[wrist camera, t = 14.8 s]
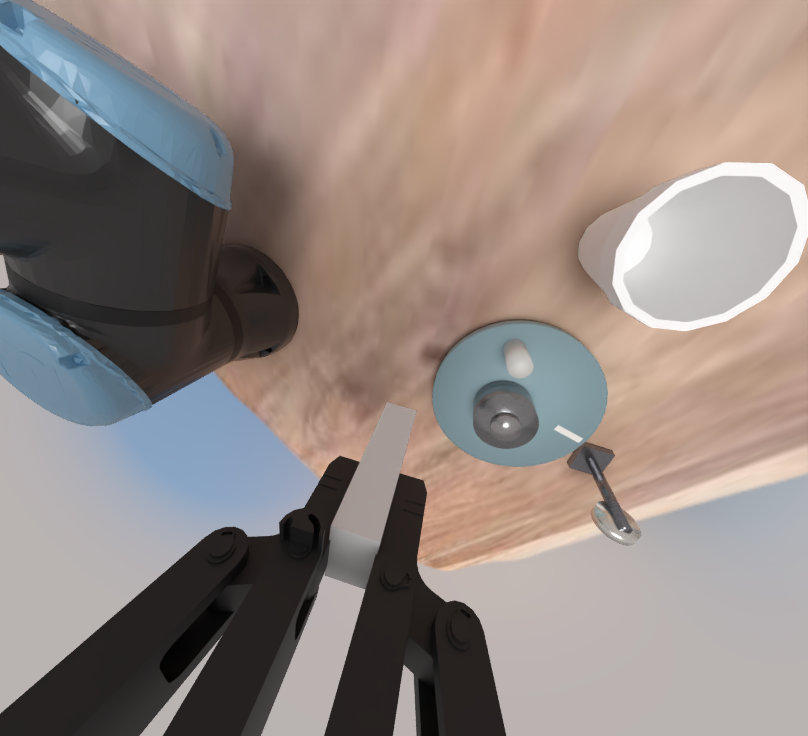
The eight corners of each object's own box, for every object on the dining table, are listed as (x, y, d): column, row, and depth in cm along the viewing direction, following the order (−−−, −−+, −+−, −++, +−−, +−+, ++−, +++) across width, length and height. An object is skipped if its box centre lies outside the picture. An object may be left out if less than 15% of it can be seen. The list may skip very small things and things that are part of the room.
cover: (483, 432, 38) (484, 459, 34) (465, 388, 36) (464, 411, 32) (539, 421, 36) (547, 448, 31) (523, 373, 34) (531, 394, 29)
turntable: (462, 466, 44) (460, 505, 38) (411, 350, 38) (398, 374, 32) (614, 441, 37) (641, 484, 31) (582, 293, 31) (608, 310, 24)
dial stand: (565, 461, 41) (596, 540, 30) (579, 440, 39) (616, 517, 29) (597, 471, 40) (639, 555, 30) (613, 450, 38) (663, 532, 28)
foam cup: (564, 200, 28) (624, 181, 17) (679, 178, 26) (842, 139, 14) (559, 298, 32) (606, 336, 21) (659, 287, 30) (776, 324, 18)
